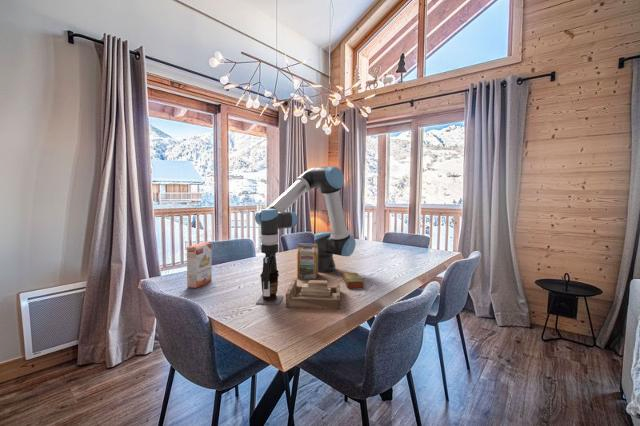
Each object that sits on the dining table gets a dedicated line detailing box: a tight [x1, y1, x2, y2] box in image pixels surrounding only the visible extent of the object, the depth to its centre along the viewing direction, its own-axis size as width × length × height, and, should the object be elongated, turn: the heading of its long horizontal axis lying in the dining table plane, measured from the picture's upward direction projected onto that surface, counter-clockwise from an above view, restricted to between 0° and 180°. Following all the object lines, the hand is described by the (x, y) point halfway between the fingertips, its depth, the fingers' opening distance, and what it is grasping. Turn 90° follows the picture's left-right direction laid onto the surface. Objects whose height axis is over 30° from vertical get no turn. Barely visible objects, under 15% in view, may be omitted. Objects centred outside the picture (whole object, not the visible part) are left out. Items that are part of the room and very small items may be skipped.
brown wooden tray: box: [285, 277, 341, 310], centre depth 139 cm, size 22×23×6 cm
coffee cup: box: [259, 269, 280, 301], centre depth 137 cm, size 9×8×13 cm
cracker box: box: [186, 242, 213, 289], centre depth 159 cm, size 14×6×21 cm, turn 168°
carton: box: [342, 272, 364, 290], centre depth 161 cm, size 8×16×4 cm, turn 5°
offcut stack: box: [300, 279, 332, 297], centre depth 146 cm, size 5×14×6 cm, turn 86°
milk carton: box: [296, 243, 319, 280], centre depth 174 cm, size 11×10×19 cm
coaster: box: [255, 294, 284, 306], centre depth 137 cm, size 10×10×1 cm
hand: (270, 291), depth 137 cm, fingers open, 12 cm apart
